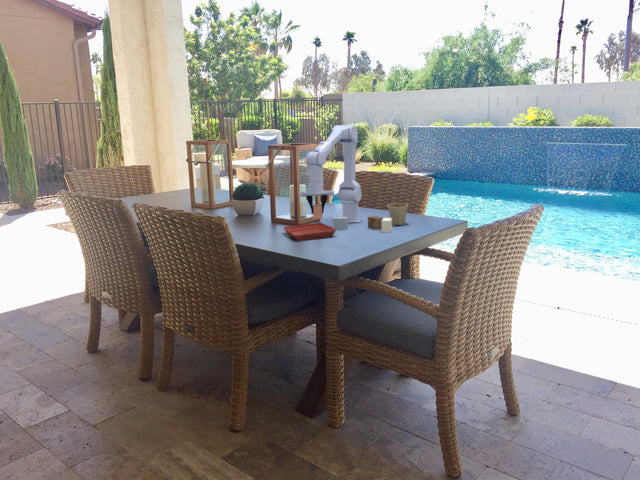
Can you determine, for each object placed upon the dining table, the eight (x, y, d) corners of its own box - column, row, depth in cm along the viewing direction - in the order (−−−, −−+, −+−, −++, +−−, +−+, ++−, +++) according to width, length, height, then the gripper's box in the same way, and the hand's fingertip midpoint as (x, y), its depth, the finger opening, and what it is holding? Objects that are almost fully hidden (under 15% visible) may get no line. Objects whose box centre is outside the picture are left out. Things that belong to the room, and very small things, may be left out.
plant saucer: (282, 234, 226) (282, 226, 225) (321, 229, 232) (321, 222, 231) (295, 243, 210) (295, 234, 209) (337, 237, 216) (337, 229, 215)
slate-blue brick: (333, 229, 229) (332, 218, 228) (334, 228, 232) (333, 217, 231) (347, 229, 228) (346, 218, 227) (347, 228, 231) (347, 216, 230)
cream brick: (384, 229, 226) (384, 217, 225) (392, 229, 225) (392, 218, 224) (381, 232, 221) (381, 220, 220) (389, 232, 220) (389, 220, 219)
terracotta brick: (313, 216, 224) (312, 204, 223) (321, 216, 225) (321, 204, 223) (313, 219, 219) (313, 207, 217) (322, 218, 219) (321, 206, 218)
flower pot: (384, 225, 233) (383, 206, 231) (391, 221, 241) (391, 202, 239) (404, 227, 229) (404, 207, 227) (411, 222, 237) (411, 203, 235)
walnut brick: (367, 227, 230) (367, 216, 229) (374, 226, 232) (374, 215, 231) (376, 230, 225) (376, 218, 224) (382, 228, 227) (382, 217, 226)
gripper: (299, 183, 214) (300, 215, 217) (334, 181, 215) (335, 214, 218) (298, 180, 221) (300, 212, 224) (333, 179, 222) (333, 211, 225)
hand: (317, 213), depth 222 cm, fingers closed on terracotta brick, 3 cm apart
